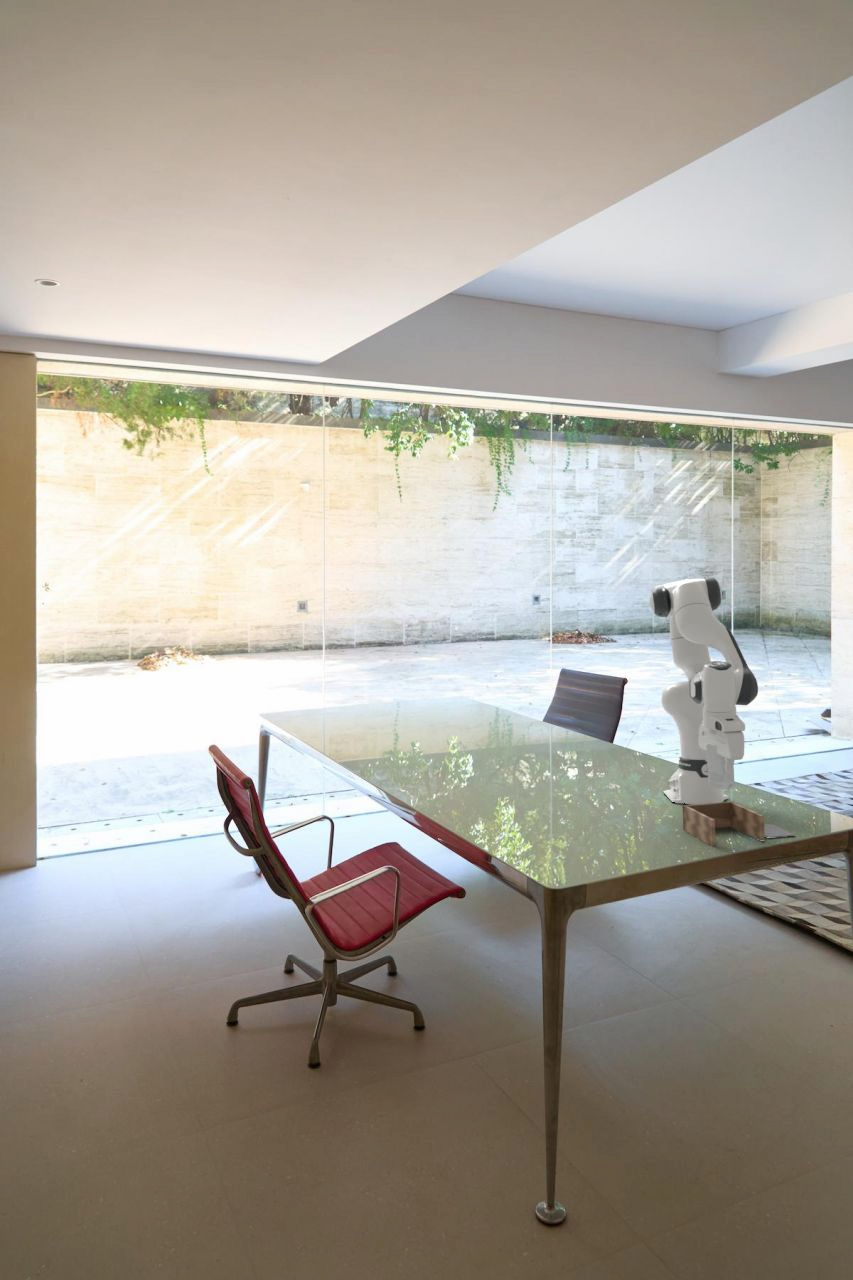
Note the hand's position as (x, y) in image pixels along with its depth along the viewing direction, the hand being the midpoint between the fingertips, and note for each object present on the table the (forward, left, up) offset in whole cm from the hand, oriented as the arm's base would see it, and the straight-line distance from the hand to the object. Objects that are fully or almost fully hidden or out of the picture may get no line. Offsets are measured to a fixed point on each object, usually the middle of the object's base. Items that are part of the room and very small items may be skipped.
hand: (720, 770), depth 257 cm
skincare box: (0, 0, -5) cm, 5 cm away
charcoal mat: (+1, +14, -18) cm, 23 cm away
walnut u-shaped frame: (0, 0, -18) cm, 18 cm away
